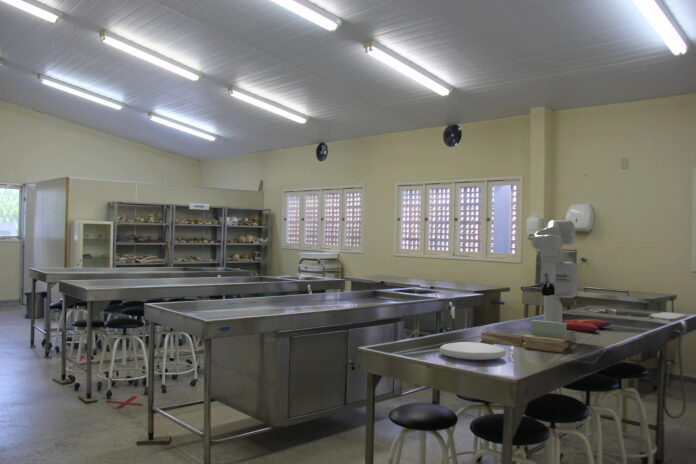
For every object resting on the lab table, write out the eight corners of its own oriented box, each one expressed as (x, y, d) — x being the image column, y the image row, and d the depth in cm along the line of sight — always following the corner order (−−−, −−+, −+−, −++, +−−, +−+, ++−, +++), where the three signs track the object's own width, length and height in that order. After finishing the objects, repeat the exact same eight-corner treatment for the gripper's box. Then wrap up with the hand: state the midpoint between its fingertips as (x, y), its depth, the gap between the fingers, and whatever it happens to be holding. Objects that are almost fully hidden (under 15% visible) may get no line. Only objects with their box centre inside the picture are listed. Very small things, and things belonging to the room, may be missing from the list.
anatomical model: (611, 332, 328) (562, 328, 347) (611, 320, 328) (561, 317, 347) (598, 333, 304) (545, 329, 323) (598, 320, 305) (545, 317, 324)
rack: (529, 345, 265) (529, 332, 265) (571, 350, 254) (571, 336, 254) (521, 349, 253) (521, 335, 254) (565, 355, 242) (566, 340, 243)
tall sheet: (531, 344, 262) (532, 319, 262) (566, 348, 253) (566, 323, 253) (530, 344, 260) (531, 320, 260) (565, 349, 251) (565, 323, 252)
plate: (428, 345, 233) (458, 339, 253) (429, 360, 233) (459, 352, 253) (486, 348, 215) (514, 341, 235) (487, 364, 214) (515, 356, 234)
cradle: (486, 340, 275) (486, 330, 275) (525, 345, 264) (526, 335, 264) (480, 343, 267) (480, 333, 267) (520, 348, 256) (520, 337, 256)
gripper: (546, 260, 268) (545, 294, 267) (536, 259, 254) (535, 295, 253) (561, 260, 263) (560, 295, 263) (552, 260, 249) (551, 296, 249)
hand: (548, 295), depth 258 cm, fingers open, 9 cm apart
